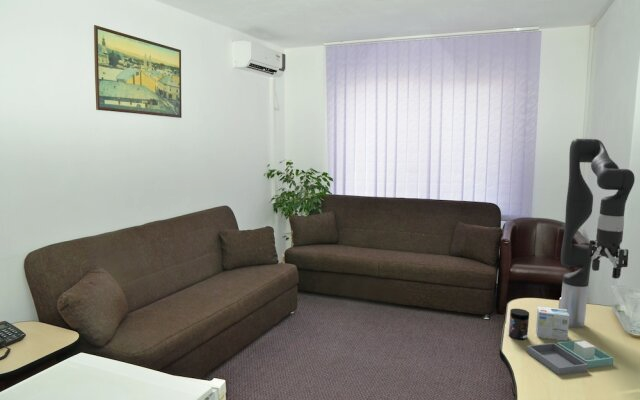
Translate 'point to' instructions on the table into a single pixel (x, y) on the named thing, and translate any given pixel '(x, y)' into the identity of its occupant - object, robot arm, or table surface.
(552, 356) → the bin
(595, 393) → the table surface
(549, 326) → the light bulb box
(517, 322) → the supplement container
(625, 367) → the table surface
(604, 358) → the bin
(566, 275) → the robot arm
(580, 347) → the stone block
